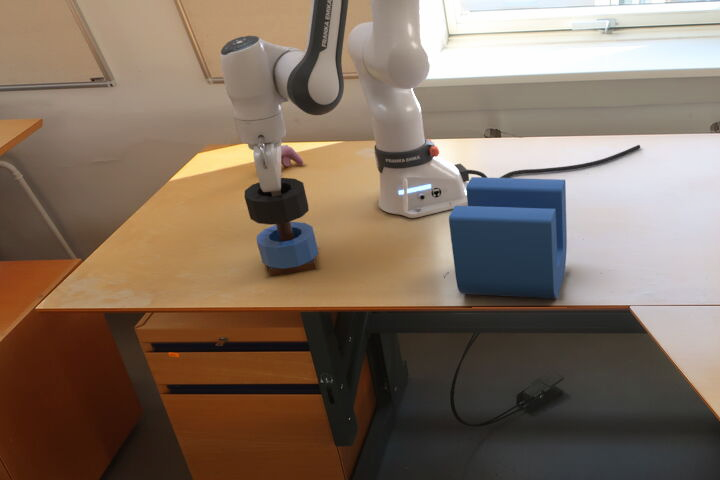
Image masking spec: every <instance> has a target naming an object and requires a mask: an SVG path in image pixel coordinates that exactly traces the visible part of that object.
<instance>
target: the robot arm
mask: <svg viewBox="0 0 720 480" xmlns="http://www.w3.org/2000/svg"><path fill="white" fill-rule="evenodd" d="M422 1H423V0H369V3H370V10H371V11H370V12H371V21H366V22H362V23H359V24H357V25H356V26H354V28H352V30H351V31H350V33H349V35H348V36H347V45H346V46H347V52H348V54H349V57H350V59H351V60H352V62H353V64H354V68H355V71H356V73H357V77H358V80H359V83H360V87H361V90H362V92H363V95H364V98H365V101H366V105H367V107H368V110H369V115H370V119H371V125H372V131H373V137H374V142H375V144H374V157H375V164H376V168H377V171H378V172H379V199H378V207H379V208H380V209H381V210H382V211H383V212H386V213H388V214H392V215H393V214H394V215H400V216H404V217H406V218H410V219H416V218H420V217H425V216H429V215H433V214H437V213H441V212H446V211H450V210H453V209H454V207H455V206H468V201H467V192H466V187H467V184H468V183H469V181H470V177H469V176H470V175H476V176H478V177H486V178H489V177H488V176H487V175H486V174H485V173H484V172H482V171H479V170H474V169H468V168H466V166H464V165H463V164H462V163H460V162H459V163H456V164H453V163H452V162H450V161H448V160H446V159H444V158H442V157H441V156H439V155H440V151H439V148H438V147H437V146H436V145H435V143H434V142H433V141H432V140H431V139H430V138H428V139H427V138H426V137H425V131H424V123H423V122H424V121H423V115H422V107H421V105H420V102H419V101H418V99H417V97H416V95H415V93H414V90H413V89H415V88H418V87H419V86H421V85H422V84H423V83H424V82H425V81H426V79H427V78H428V75H429V73H430V67H431V62H430V56H429V53H428V52H427V49H426V45H425V39H424V29H423V28H424V25H423V14H422V13H423V12H422ZM348 7H349V0H310V10H309V11H310V13H309V18H308V19H309V21H308V28H307V37H306V45H305V48H304V50H301V49H299V48H297V47H291V46H283V45H278V44H274V43H271V42H268V41H266V40H264V39H262V38H260V37H259V36H257V35H245V36H239V37H236V38H234V39H231V40H229V41H228V42H226V43H225V45H223V46H222V48H221V50H220V55H219V57H220V59H219V60H220V68H221V73H222V78H223V82H224V87H225V90H226V94H227V96H228V98H229V100H230V101H231V105H232V117H233V121H234V124H235V128H236V131H237V135H238V138H239V139H238V140H239V141H240V143H242V144H246V145H247V147H248V149H249V150H251V151H253V162H254V166H255V170H256V171H255V172H256V174H257V179H258V182H259V183H260V187H261V189H262V191H263V192H271V194H272V196H278V195H281V194H282V193H281V178H282V164H281V146H282V145H283V141H282V139H284V138H285V137H286V135H287V128H286V125H285V121H284V117H283V112H282V107H281V106H282V104H283V103H287V102H289V103H291V104H293V105H295V106H296V107H297V108H298V109H300V110H301V111H302V112H304V113H305V114H308V115H311V116H322V115H326V114H328V113H330V112H332V111H333V110H334V109H336V107H337V106H338V105H339V104H340V102H341V100H342V98H343V96H344V90H345V82H344V81H345V80H344V73H343V66H342V65H343V64H342V60H343V59H342V57H343V55H342V54H343V49H344V47H343V46H344V40H345V32H346V25H347V18H348V17H347V16H348V9H349V8H348ZM639 149H641V145H640V144H637V145H634V146H632V147H630V148H628V149H626V150H623V151H620V152H618V153H616V154H613V155H610V156H607V157H604V158H601V159H598V160H594V161H590V162H585V163H579V164H572V165H565V166H556V167H546V168H529V169H518V170H517V169H516V170H512V171H509V172H506V173H504V174H503V175H501V176H500V177H499V178H511V177H512V176H517V175H526V174H527V175H528V174H543V173H555V172H564V171H571V170H578V169H585V168H588V167H593V166H597V165H602V164H605V163H607V162H610V161H613V160H615V159H618V158H621V157H623V156H625V155H628V154H630V153H632V152H635V151H637V150H639Z"/></svg>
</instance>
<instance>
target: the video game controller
mask: <svg viewBox="0 0 720 480" xmlns="http://www.w3.org/2000/svg"><path fill="white" fill-rule="evenodd" d="M291 161H293V163H295V164H297V165H298V166H301V167H302V166H304V160H303V158H302V156H301V155H300V154H298V152H296V151H295V149H294V148H293V147H292V146H289V145H288V144H281V166H283V167H284V168H288V167H290V166H291V163H292V162H291Z"/></svg>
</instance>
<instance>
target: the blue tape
mask: <svg viewBox="0 0 720 480" xmlns="http://www.w3.org/2000/svg"><path fill="white" fill-rule="evenodd" d="M290 223H291V227H292V231H293V235H294V239H292V240H290V241H284V242H281V241H280V237H279V234H278V230H277V226H276V224H273V225H271V226H269V227H265V228H264V229H263V230H262V231H260V232H259V233H258V234H257V235H256V245H257V248H258V251H259V255H260V258H261V263H262V264H263V265H265V266H267V267H268V268H269V267H271V268H282V269H285V268H291V267H297V266H301V265H303V264H305V263H307V262H310V261H312V260H313V259H314V258H315V259H316V257H317V256H318V255H319V248H318V243H317V239H316V235H315V231H314V227H313V226H312V225H310V224H308V223H307V222H300V221H290Z"/></svg>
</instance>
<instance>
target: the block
mask: <svg viewBox="0 0 720 480" xmlns="http://www.w3.org/2000/svg"><path fill="white" fill-rule="evenodd" d="M467 183H468V184H467V187H466V192H467V201H468V205H467V206H455V207H454V209H451V212H450V214H449V216H448V225H449V232H450V233H449V234H450V240H451V241H450V242H451V249H452V258H453V265H454V273H455V275H454V276H455V282H456V286H457V290H458V291H459V293H460V294H462V295H463V294H464V295H481V296H503V297H518V298H519V297H521V298H522V297H523V298H524V297H525V298H539V299H542V298H543V299H558V297H559V295H560V290H561V287H562V283H563V280H564V276H565V272H566V271H565V270H566V262H567V247H568V246H567V245H568V240H567V239H568V238H567V237H568V235H567V231H568V230H567V193H566V192H567V190H566V188H567V187H566V179H557V178H520V177H519V178H517V177H516V178H515V177H508V178H500V177H488V178H486V177H481V176H472V177H470V178H469V181H468V182H467Z"/></svg>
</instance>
